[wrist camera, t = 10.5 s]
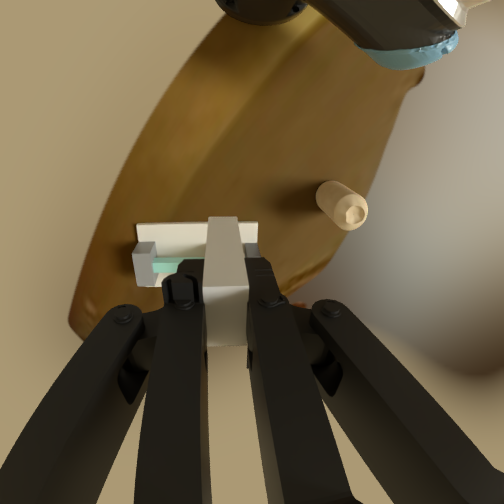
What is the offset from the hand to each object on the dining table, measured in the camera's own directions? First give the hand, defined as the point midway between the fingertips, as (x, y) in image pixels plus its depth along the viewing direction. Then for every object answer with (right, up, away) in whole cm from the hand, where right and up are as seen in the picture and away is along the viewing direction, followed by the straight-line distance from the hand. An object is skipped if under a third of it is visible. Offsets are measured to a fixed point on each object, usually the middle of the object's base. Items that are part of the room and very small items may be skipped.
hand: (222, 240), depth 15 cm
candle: (+15, +9, +31) cm, 35 cm away
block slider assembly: (-8, -1, +33) cm, 34 cm away
